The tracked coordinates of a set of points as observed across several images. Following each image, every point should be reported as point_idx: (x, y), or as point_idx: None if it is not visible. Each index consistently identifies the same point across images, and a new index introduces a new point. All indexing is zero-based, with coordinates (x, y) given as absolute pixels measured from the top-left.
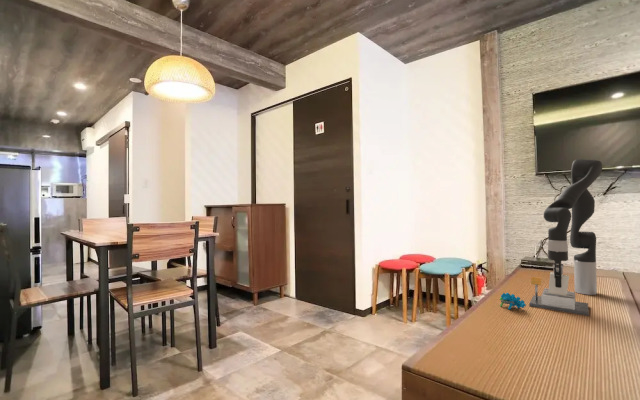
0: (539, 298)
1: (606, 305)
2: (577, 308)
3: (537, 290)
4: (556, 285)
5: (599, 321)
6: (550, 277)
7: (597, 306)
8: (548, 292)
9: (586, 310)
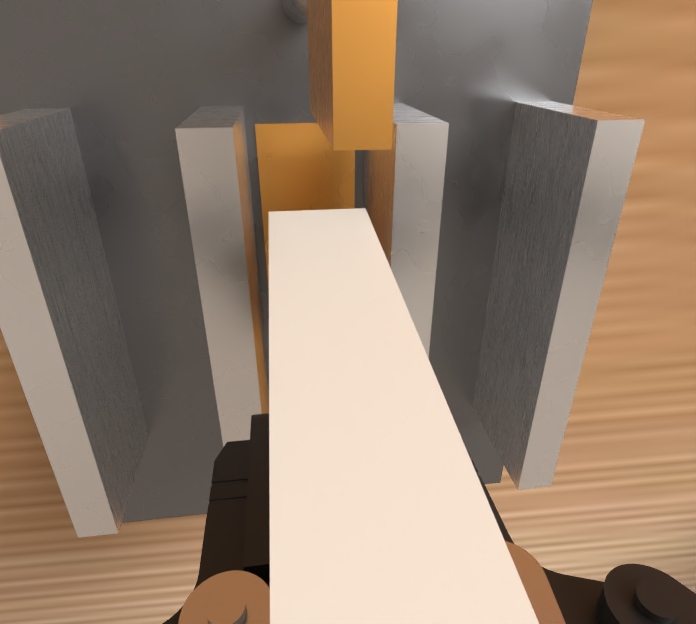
0: (422, 40)
1: (600, 534)
2: (204, 448)
3: (305, 12)
4: (220, 456)
5: (26, 555)
6: (270, 495)
7: (532, 501)
8: (269, 229)
9: (190, 504)
